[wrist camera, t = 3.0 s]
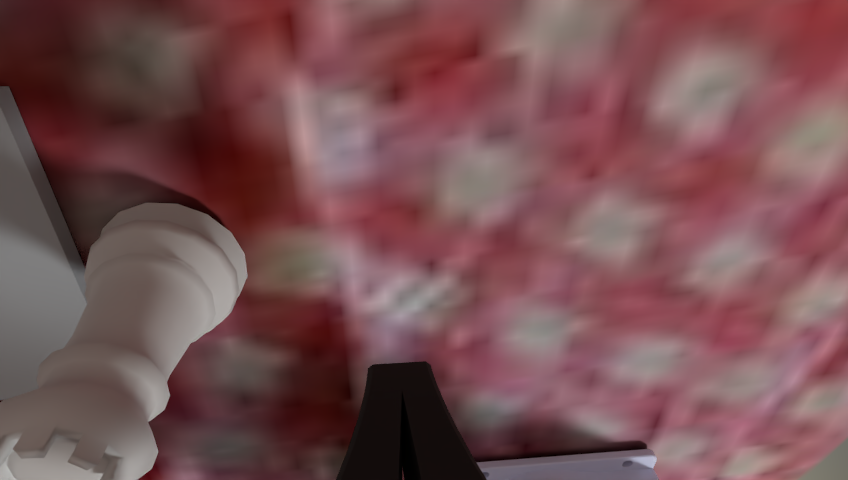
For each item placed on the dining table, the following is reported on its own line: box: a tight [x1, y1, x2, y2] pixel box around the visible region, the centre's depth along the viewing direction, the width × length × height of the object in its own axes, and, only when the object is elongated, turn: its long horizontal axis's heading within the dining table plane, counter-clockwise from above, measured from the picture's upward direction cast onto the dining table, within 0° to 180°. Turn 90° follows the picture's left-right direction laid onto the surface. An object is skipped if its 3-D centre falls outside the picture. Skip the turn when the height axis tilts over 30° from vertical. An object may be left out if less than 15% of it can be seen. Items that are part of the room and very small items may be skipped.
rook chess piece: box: [0, 203, 247, 480], centre depth 13 cm, size 4×4×8 cm
